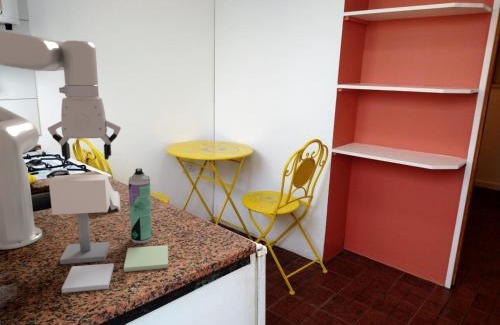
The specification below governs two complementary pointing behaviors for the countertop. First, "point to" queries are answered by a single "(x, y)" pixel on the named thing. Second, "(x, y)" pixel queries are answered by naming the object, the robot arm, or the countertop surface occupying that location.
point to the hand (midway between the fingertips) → (87, 158)
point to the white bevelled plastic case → (114, 199)
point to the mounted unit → (81, 212)
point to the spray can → (140, 207)
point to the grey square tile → (88, 278)
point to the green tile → (146, 258)
